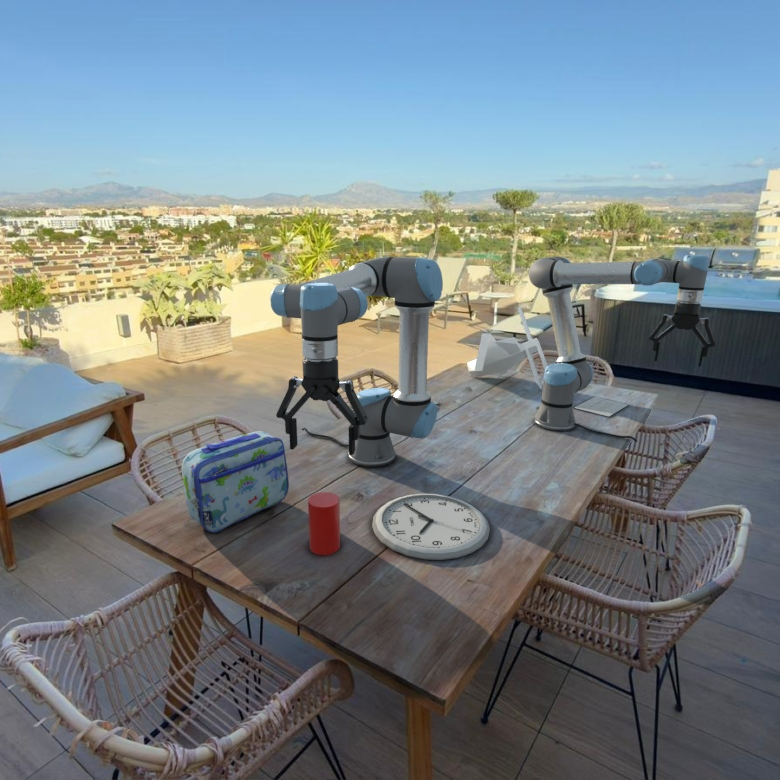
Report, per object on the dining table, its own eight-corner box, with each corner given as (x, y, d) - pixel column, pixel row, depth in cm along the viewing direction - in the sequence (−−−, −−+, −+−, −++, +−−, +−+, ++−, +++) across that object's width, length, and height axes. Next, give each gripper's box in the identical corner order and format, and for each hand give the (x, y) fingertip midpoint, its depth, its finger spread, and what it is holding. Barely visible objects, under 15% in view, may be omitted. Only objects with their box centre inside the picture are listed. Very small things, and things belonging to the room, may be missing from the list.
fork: (425, 411, 216) (425, 407, 215) (435, 400, 230) (435, 396, 230) (431, 412, 215) (431, 408, 214) (441, 401, 229) (441, 396, 229)
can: (305, 553, 122) (303, 505, 118) (315, 536, 129) (313, 490, 125) (335, 557, 121) (334, 508, 117) (343, 539, 127) (343, 493, 124)
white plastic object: (487, 418, 267) (468, 395, 242) (469, 346, 289) (449, 318, 264) (558, 394, 255) (545, 368, 230) (533, 321, 277) (518, 289, 252)
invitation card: (608, 416, 214) (573, 407, 224) (608, 416, 214) (573, 408, 224) (628, 404, 229) (594, 396, 238) (628, 405, 229) (594, 397, 238)
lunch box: (202, 541, 125) (194, 461, 119) (183, 523, 133) (174, 447, 126) (293, 503, 143) (290, 432, 137) (271, 490, 150) (268, 421, 144)
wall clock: (505, 551, 121) (375, 556, 118) (504, 557, 121) (375, 562, 119) (474, 489, 149) (369, 491, 147) (474, 494, 150) (369, 497, 147)
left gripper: (257, 358, 109) (263, 451, 116) (374, 365, 105) (373, 462, 111) (271, 350, 116) (276, 438, 123) (381, 357, 112) (380, 448, 118)
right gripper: (647, 300, 180) (637, 360, 186) (732, 306, 168) (719, 370, 175) (649, 298, 186) (639, 356, 192) (731, 303, 175) (718, 365, 181)
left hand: (322, 449), depth 117 cm, fingers open, 13 cm apart
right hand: (677, 362), depth 184 cm, fingers open, 13 cm apart
